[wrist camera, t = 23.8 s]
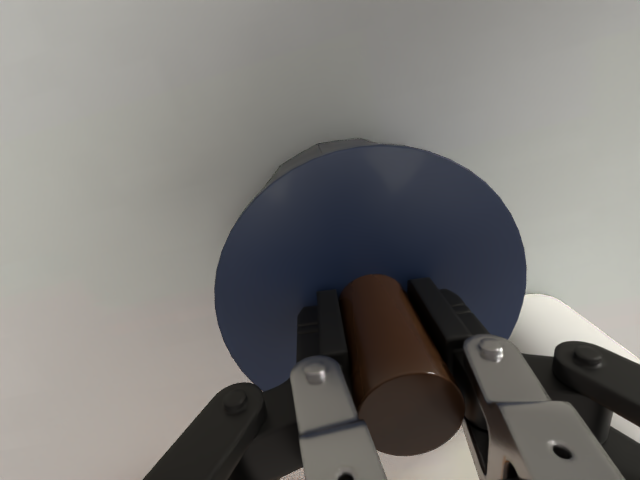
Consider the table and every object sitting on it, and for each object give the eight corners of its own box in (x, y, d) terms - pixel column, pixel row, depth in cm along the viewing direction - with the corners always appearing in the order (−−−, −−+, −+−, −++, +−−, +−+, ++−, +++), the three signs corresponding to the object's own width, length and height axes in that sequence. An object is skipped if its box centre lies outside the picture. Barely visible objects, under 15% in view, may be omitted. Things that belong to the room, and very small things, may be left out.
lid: (187, 164, 12) (84, 216, 6) (522, 121, 12) (721, 134, 6) (251, 417, 16) (222, 589, 10) (501, 385, 16) (611, 538, 10)
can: (549, 379, 24) (772, 625, 12) (456, 373, 23) (602, 625, 12) (586, 294, 21) (897, 500, 10) (484, 285, 21) (695, 493, 10)
